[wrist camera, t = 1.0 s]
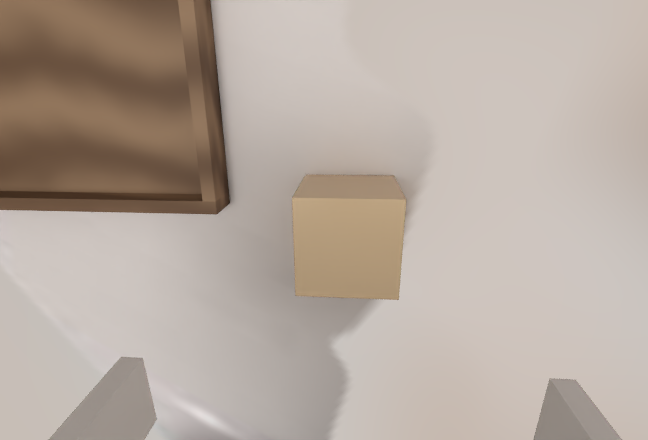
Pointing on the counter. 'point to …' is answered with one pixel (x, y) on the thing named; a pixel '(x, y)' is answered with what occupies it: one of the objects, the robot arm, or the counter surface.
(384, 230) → the tan block
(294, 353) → the counter surface
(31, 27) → the tray
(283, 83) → the counter surface
